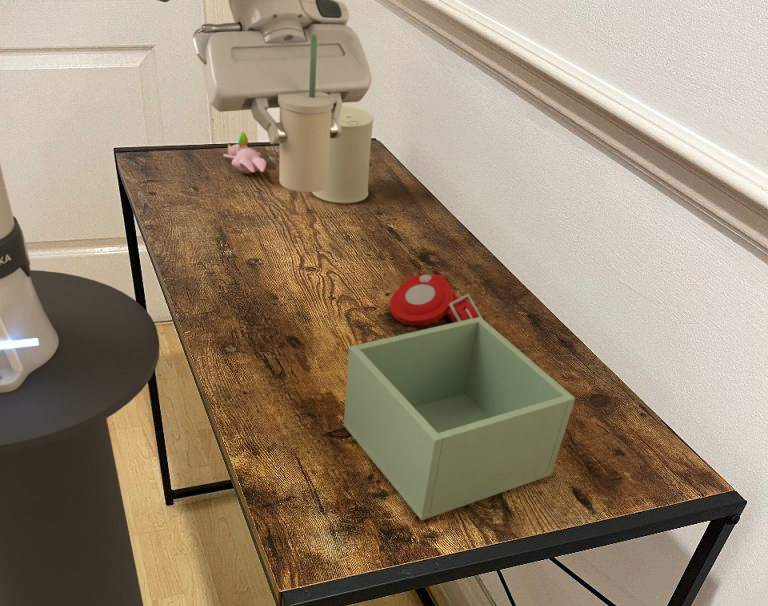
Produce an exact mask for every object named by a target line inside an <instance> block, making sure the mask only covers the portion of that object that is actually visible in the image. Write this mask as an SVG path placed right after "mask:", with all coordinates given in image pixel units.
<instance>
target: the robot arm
mask: <svg viewBox="0 0 768 606" xmlns="http://www.w3.org/2000/svg"><path fill="white" fill-rule="evenodd" d="M157 1H158V2H162V3H168V2H169V1H170V0H157ZM228 5H229V9H230V13H231V16H232V19H233V22H224V23H217V24H216V23H215V24H214V23H204V24H202V25H201V27H199V28H197V29H196V30H195V31H194V33H193V35H192V42H193V43H192V44H193V46H194V51H195V53H196V56H197V57H198V59H199V61H200V62H201V63H202V70H203V78H204V83H205V88H206V93H207V97H208V100H209V103H210V105H211V106H212V107H213V108H214V109H215V110H216V111H218V112H220V113H224V112H236V111H251V114H252V119H254V120H255V121H256V122H257V123H258V125H260V127H262V129H263V130H264V131H266V133H267V137H268V140H269V143H270V144H271V145H280V143H283V142H284V140H285V139H286V132H285V131H284V127H283V124H282V122H280V121H279V122H276V120H275V119H274V118H273V117H272V115H271V114H270V113H269V112H268V109H275V108H276V109H277V108H279V109H280V105H279V104H278V94H289V93H304V92H309V82H310V47H311V35H313V34H315V35H316V36H317V56H316V86H315V92H319V91H321V92H324V93H326V94H328V95H330V96H331V97H332V98H333V109H332V110H331V128H330V139H332V138H338V137H339V136H340V135H341V132H342V130H341V126H340V122H339V119H338V118H339V115H340V111H341V107H342V106H343V104H345V103H359V102H361V100H362V99H363V98H364V97H365V96H366V94H367V93H368V92H369V90H370V88H371V85H372V82H373V77H372V72H371V69H370V65H369V62H368V59H367V56H366V54H365V51H364V48H363V45H362V42H361V41H360V38H359V36H358V34H357V33H356V32H355V30H353V28H351V27H350V26H348V22H349V19H350V13H349V9H348V7H347V5H346V4H345V3H343V2H342V1H340V0H228ZM30 270H31V261H30V256H29V251H28V247H27V243H26V239H25V236H24V232H23V229H22V228H21V226H20V224H19V222H18V219H17V217H15V215H14V214H13V210H12V207H11V202H10V197H9V194H8V189H7V186H6V182H5V178H4V174H3V170H2V165H1V164H0V393H5V392H10V391H13V390H15V389H17V388H18V387H19V386H20V385H21V384H22V383H23V381H24V380H25V379H26V377H27V375H29V374H30V373H31V372H32V371H34V370H36V369H37V368H39V367H40V366H42V365H43V364H45V363H46V362H47V361H48V360H49V359H50V358H51V357H52V356H53V355H54V353H55V352H56V350H57V348H58V344H59V338H58V335H57V332H56V331H55V329H54V328H53V326H52V325H51V323H50V321H49V319H48V318H47V316H46V314H45V312H44V310H43V307H42V305H41V303H40V301H39V298H38V296H37V293H36V291H35V288H34V286H33V283H32V280H31V277H30V274H31V271H30Z"/></svg>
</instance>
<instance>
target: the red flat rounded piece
mask: <svg viewBox="0 0 768 606" xmlns="http://www.w3.org/2000/svg"><path fill="white" fill-rule="evenodd" d="M389 300H390V301H389V310H390V313H391V315H392V317H393V318H394V319H395V320H396V321H398V322H399V323H401V324H403V325H406V326H414V327H416V326H427V325H429V324H433V323H435V322H437V321H439V320H441V319H442V318H444V317H445V316H446V317H447V318H448V319H449V321H450V322H451V323H455V322H459V321H464V320H468V319H472V318H477V317H481V318H482V319H483V317H482V314H481V313H480V312H479V309H478V308H477V306H476V304H475V303H474V300H473V299H472V298H471V296H470V294H468V293H466V294H465V295H463V296H461V297H458V296H457V295H456V294H455V293H454V291H453V290H452V287H451V286H450V283H449V282H448V281H447V279H446V278H445V276H444V275H443V274H418V275H417V274H416V275H411V276H410V277H409V278H407V279H406V280H405V281H404V282H403V283H402V284H401V285H400V286H398V288H397V289H396V290H395V291H394V293H393V294H392V296H391V297H390V299H389ZM483 320H484V319H483Z"/></svg>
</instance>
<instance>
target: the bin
mask: <svg viewBox="0 0 768 606" xmlns="http://www.w3.org/2000/svg"><path fill="white" fill-rule="evenodd" d="M481 317H482V316H481ZM481 317H477V318H472V319H468V320H464V321H459V322H455V323H452V322H451V323H447V324H442V325H438V326H434V327H430V328H429V327H428V328H425V329H420V330H416V331H412V332H408V333H404V334H399V335H394V336H390V337H385V338H381V339H377V340H373V341H368V342H364V343H360V344H355V345H351V346H348V356H347V357H348V358H347V372H346V384H345V385H346V388H345V389H346V390H345V401H344V415H343V427H344V428H345V429H346V430H347V431H348V433H349V434H350V436H351V437H352V438H353V440H355V441H356V442H357V444H358V445H359V446H360V448H361V449H362V450H363V451H364V453H366V455H367V456H368V457H369V458H370V460H371V461H372V462H373V463H374V465H376V467H377V468H378V469H379V471H380V472H381V473H382V474H383V476H384V477H385V478H386V479H387V480H388V482H389V483H390V484H391V485H392V486H393V488H394V489H395V490H396V491H397V493H398V494H399V495H400V496H401V497H402V499H403V500H404V501H405V502H406V503H407V505H408V506H409V508H410V509H411V510H412V511H413V512H414V514H415V515H416V516H417V517H418V518H419V520H420V521H424V520H428V519H431V518H433V517H435V516H439V515H441V514H444V513H447V512H450V511H453V510H456V509H459V508H462V507H465V506H467V505H470V504H473V503H476V502H479V501H481V500H484V499H487V498H490V497H494V496H496V495H499V494H501V493H505V492H507V491H510V490H513V489H516V488H519V487H521V486H525V485H528V484H530V483H533V482H536V481H539V480H542V479H545V478H548V477H550V476H552V474H553V470H554V467H555V464H556V461H557V458H558V455H559V452H560V451H559V450H560V448H561V445H562V442H563V438H564V436H565V434H566V433H565V432H566V429H567V427H568V423H569V420H570V417H571V414H572V410H573V407H574V405H575V401H576V397H575V396H574V395H572V393H570V392H569V391H568V390H567V389H565V388H564V387H563V386H562V385H560V383H558V382H557V381H556V380H555V379H554V378H552V377H551V376H550V375H549V374H548V373H546V372H545V370H543V369H542V368H541V367H539V366H538V364H536V362H534V361H533V360H532V359H530V358H529V357H528V356H526V354H525V353H523V352H522V351H521V350H519V348H517V347H516V346H515V345H514V344H513V343H511V342H510V341H509V340H508V339H507V338H505V336H503V335H502V334H501V333H500V332H498V331H497V330H496V329H495V328H494V327H493V326H492V325H490V324H489V323H488V322H487V321H486V320H484V319H482V318H483V317H482V318H481Z"/></svg>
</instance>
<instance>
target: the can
mask: <svg viewBox="0 0 768 606" xmlns="http://www.w3.org/2000/svg"><path fill="white" fill-rule="evenodd" d="M338 119H339V122H340V126H341V130H342V132H341V135H340V136H339V137H338V138H332V139H330V149H329V170H328V186H327V187H326V188H325V189H323V190H321V191H317V192H311V194H312V195H314V197H316V198H318V199H320V200H322V201H325V202H328V203H334V204H344V205H345V204H356V203H359V202H362V201H364V200H366V199H367V197H369V175H370V160H371V159H370V158H371V148H372V147H371V145H372V137H373V136H372V134H373V126H374V125H373V124H374V116H373V114H371V113H370V112H368V111H366V110H364V109H361V108H359V107H354V106H348V105H342V107H341V111H340V115H339V118H338Z"/></svg>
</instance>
